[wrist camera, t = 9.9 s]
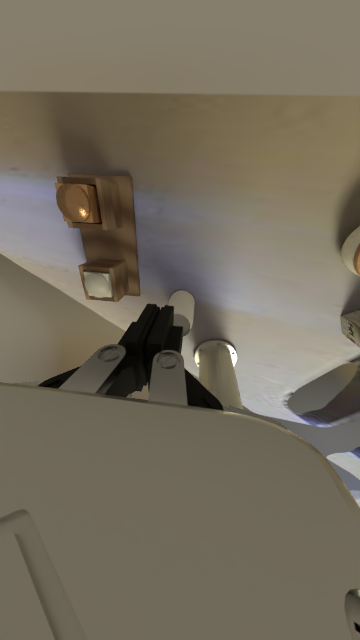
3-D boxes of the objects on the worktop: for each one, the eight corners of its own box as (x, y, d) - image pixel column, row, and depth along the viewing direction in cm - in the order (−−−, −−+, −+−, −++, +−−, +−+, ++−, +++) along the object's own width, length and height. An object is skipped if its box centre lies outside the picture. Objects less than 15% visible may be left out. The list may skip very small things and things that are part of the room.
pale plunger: (123, 286, 44) (110, 298, 37) (104, 284, 44) (87, 296, 37) (121, 265, 41) (106, 275, 35) (100, 264, 41) (81, 273, 35)
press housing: (140, 294, 46) (129, 308, 39) (96, 290, 47) (77, 303, 40) (132, 177, 34) (113, 167, 27) (72, 175, 35) (39, 164, 28)
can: (197, 309, 47) (196, 336, 36) (173, 314, 48) (166, 341, 38) (191, 287, 44) (188, 309, 33) (166, 293, 45) (156, 315, 35)
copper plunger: (112, 221, 35) (91, 223, 28) (87, 220, 35) (61, 221, 29) (108, 190, 32) (84, 184, 26) (81, 189, 33) (52, 182, 26)
